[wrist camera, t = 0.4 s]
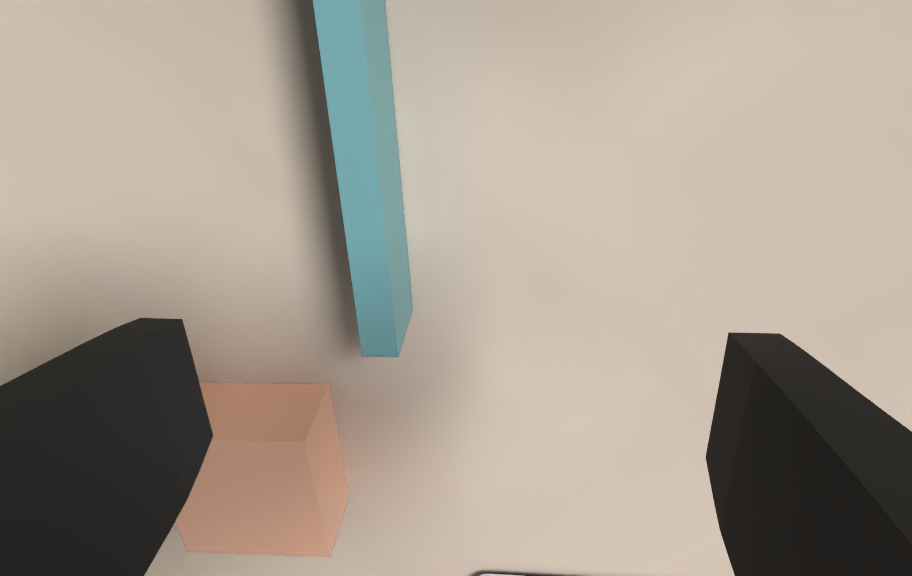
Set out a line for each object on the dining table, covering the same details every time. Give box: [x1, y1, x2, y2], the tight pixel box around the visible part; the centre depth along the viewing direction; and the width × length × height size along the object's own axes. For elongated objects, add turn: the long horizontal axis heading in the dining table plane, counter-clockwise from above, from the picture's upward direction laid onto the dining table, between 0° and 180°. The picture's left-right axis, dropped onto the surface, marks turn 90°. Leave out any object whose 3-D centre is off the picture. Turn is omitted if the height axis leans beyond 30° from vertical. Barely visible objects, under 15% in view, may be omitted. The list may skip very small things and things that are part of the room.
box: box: [313, 0, 413, 357], centre depth 17 cm, size 13×17×2 cm
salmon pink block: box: [175, 382, 350, 557], centre depth 23 cm, size 5×5×3 cm
